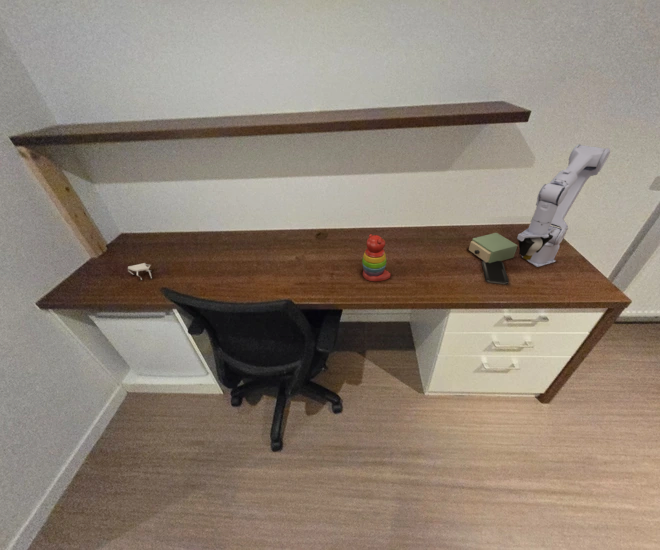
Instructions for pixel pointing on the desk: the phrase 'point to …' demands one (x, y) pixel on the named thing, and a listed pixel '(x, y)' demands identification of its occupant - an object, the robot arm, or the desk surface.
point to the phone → (495, 272)
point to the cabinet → (497, 246)
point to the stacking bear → (375, 260)
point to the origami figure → (139, 268)
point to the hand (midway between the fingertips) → (528, 253)
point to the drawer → (479, 251)
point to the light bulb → (533, 247)
